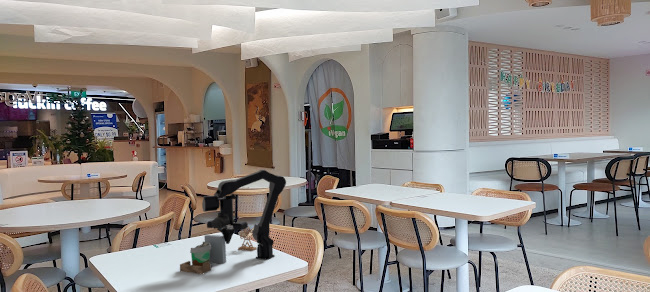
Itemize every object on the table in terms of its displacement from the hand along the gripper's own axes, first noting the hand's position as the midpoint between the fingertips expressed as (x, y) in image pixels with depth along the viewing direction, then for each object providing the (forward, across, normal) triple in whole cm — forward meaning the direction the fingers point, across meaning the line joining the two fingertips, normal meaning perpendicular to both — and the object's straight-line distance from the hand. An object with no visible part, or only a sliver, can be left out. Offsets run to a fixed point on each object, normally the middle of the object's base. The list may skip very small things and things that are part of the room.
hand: (227, 243), depth 208 cm
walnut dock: (+9, -7, -14) cm, 18 cm away
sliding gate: (+9, -7, 0) cm, 12 cm away
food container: (+9, -7, -8) cm, 14 cm away
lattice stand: (+9, -6, +24) cm, 27 cm away
